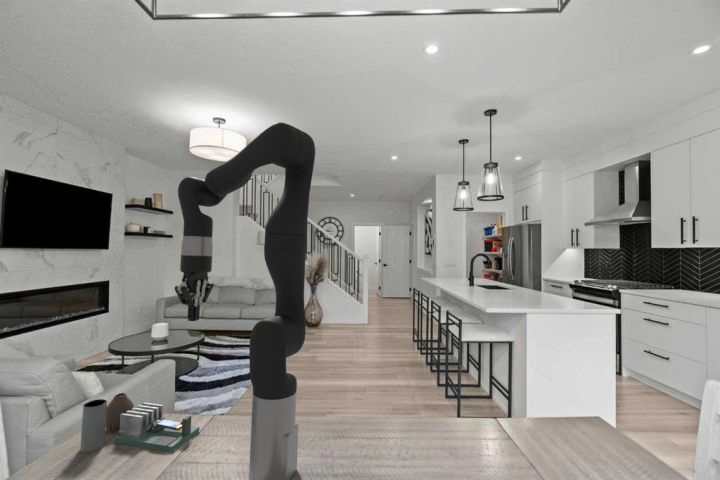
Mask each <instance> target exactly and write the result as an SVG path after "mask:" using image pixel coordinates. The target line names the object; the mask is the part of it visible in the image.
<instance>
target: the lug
mask: <svg viewBox="0 0 720 480" xmlns="http://www.w3.org/2000/svg"><path fill="white" fill-rule="evenodd" d="M179 423H180V425H182V436H186V435H187V434H189V433H190V432H191V426H192V415H187V416H185V417H183V418H182V421H181V422H179Z"/></svg>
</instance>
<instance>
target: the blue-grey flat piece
mask: <svg viewBox="0 0 720 480" xmlns="http://www.w3.org/2000/svg"><path fill="white" fill-rule="evenodd" d="M152 427H153V428H155V427H162V428H167V429H171V430H176V431H179V430H180V429H182V425H180V422H179V421H175V420H169V419H166V418H165V417H164V416H163V417H162V418H161V419H159V420H157V421H156V422H154V423H152Z"/></svg>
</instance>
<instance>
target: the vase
mask: <svg viewBox="0 0 720 480" xmlns="http://www.w3.org/2000/svg"><path fill="white" fill-rule="evenodd" d="M132 408H135V405H134V403H133V401H132V399H130V397H128V395H127V393H125V392H120V393H117V394H115V395H114V396H113V398H112V400H111V401H110V402H109V403H108V404H107V410H106V425H105V430H107V431H108V432H110V433H118V431H119V430H120V414H122V413H124V414H126V411H128V410H129V411H132Z"/></svg>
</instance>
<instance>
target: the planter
mask: <svg viewBox="0 0 720 480" xmlns="http://www.w3.org/2000/svg"><path fill="white" fill-rule="evenodd" d="M107 403H108V401H107V399H102V398H100V399H93V400H89V401H86V402H85V403H84V404H83V407H82V417H81V418H82V419H81V433H80V436H81V437H80V452H81V453H91V452H92V453H93V452H95V451H98V450H100V449H102V448H103V447H104V446H105V437H106V428H105V425H106V410H107V406H108V404H107Z"/></svg>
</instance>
